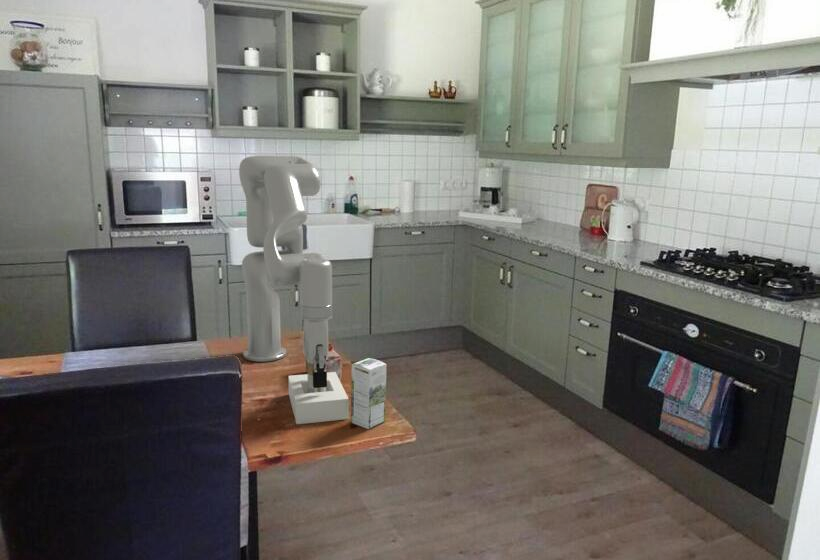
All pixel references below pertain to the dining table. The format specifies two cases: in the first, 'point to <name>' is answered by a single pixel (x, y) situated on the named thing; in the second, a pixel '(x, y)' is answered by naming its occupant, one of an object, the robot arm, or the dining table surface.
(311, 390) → the sprinkles bottle
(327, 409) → the socket block
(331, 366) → the food item
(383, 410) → the syrup box
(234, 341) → the dining table surface
